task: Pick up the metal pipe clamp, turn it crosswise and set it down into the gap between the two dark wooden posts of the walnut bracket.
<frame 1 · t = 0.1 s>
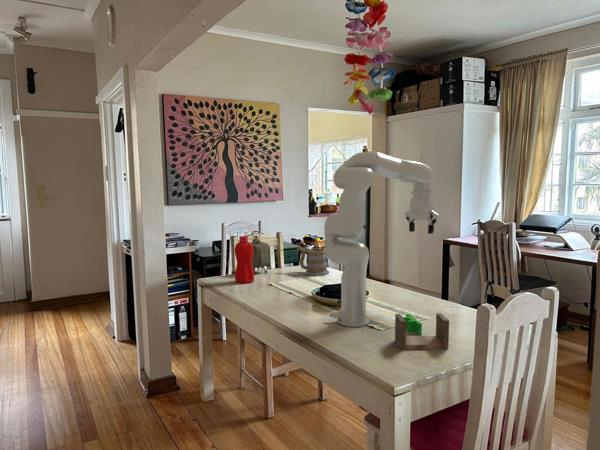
hand: (421, 232, 200), 31 cm above the table, tool pointing down, fingers open, 9 cm apart
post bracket: (421, 344, 151), on the table
tankard: (311, 273, 263), on the table
tabletop clock: (256, 272, 265), on the table
pipe clamp: (410, 331, 165), on the table
water bottle: (245, 282, 242), on the table
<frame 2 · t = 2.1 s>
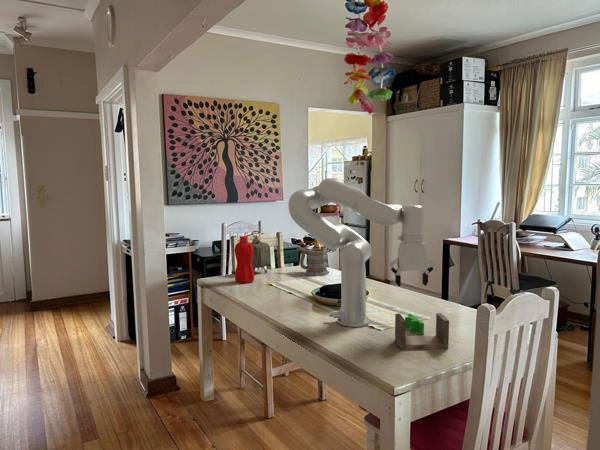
hand: (411, 285, 164), 17 cm above the table, tool pointing down, fingers open, 9 cm apart
nothing on the table moved.
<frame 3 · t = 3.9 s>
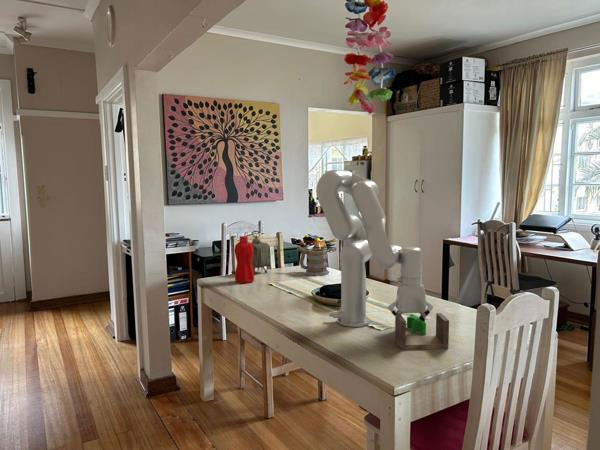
hand: (410, 327, 164), 1 cm above the table, tool pointing down, fingers open, 7 cm apart
pipe clamp: (414, 330, 165), on the table, touching gripper
everything else where it was.
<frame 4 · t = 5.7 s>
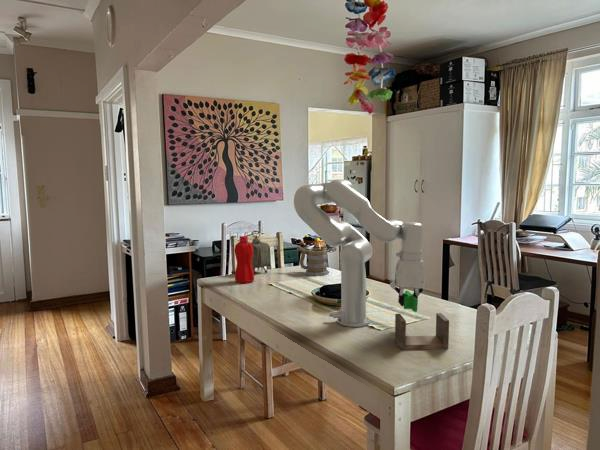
hand: (407, 304, 164), 10 cm above the table, tool pointing down, fingers closed on pipe clamp, 3 cm apart
pipe clamp: (407, 307, 165), point 8 cm above the table, touching gripper
everything else where it was.
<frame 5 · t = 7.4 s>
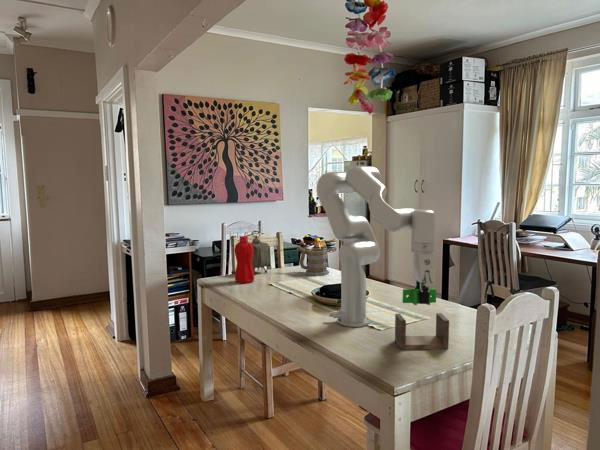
hand: (421, 301, 149), 15 cm above the table, tool pointing down, fingers closed on pipe clamp, 3 cm apart
pipe clamp: (420, 303, 149), point 14 cm above the table, touching gripper
everything else where it was.
when the fingers open (3 cm above the table, at t = 10.2 s): pipe clamp stays where it is, resting on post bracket.
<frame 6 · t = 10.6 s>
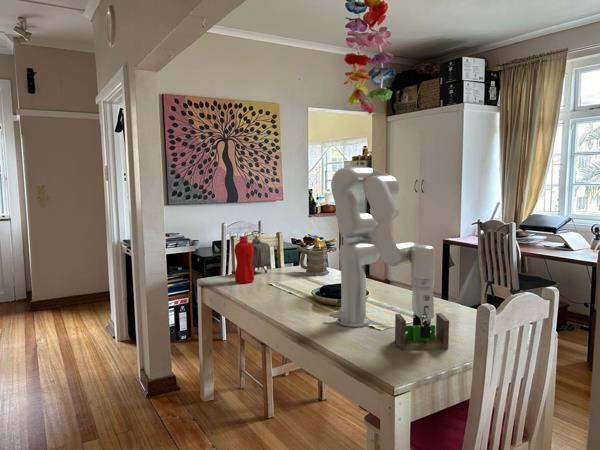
hand: (421, 333, 150), 4 cm above the table, tool pointing down, fingers open, 8 cm apart
pipe clamp: (419, 340, 151), point 1 cm above the table, touching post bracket
everything else where it was.
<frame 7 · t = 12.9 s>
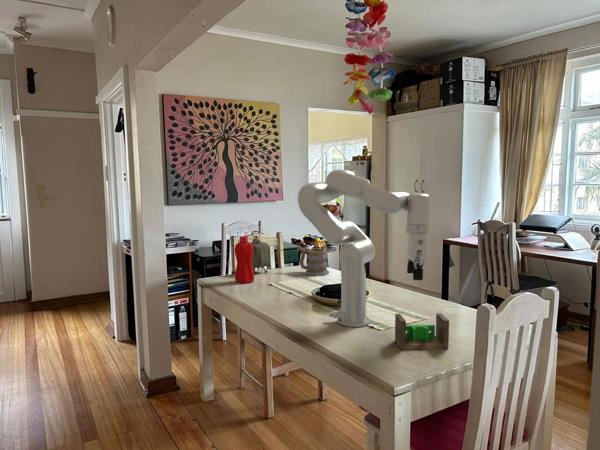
hand: (414, 276, 158), 21 cm above the table, tool pointing down, fingers open, 9 cm apart
nothing on the table moved.
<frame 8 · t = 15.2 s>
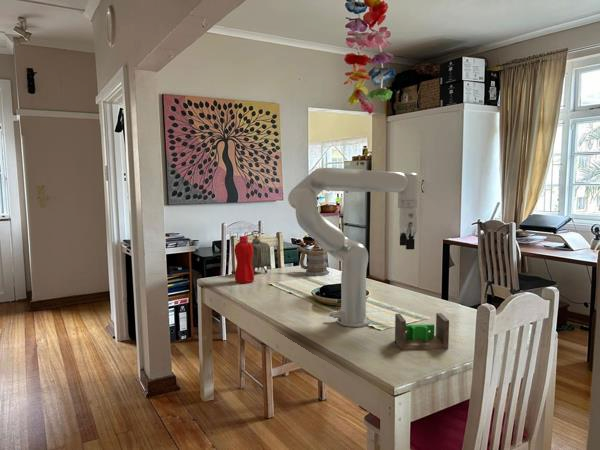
hand: (406, 247, 177), 28 cm above the table, tool pointing down, fingers open, 9 cm apart
nothing on the table moved.
at the end: pipe clamp 1.2 cm off-centre on the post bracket, point 1.3 cm above the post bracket's base; the gripper is holding nothing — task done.
